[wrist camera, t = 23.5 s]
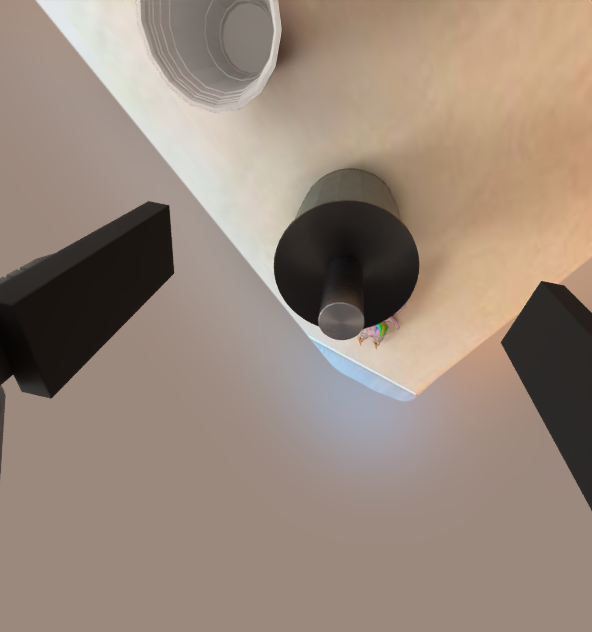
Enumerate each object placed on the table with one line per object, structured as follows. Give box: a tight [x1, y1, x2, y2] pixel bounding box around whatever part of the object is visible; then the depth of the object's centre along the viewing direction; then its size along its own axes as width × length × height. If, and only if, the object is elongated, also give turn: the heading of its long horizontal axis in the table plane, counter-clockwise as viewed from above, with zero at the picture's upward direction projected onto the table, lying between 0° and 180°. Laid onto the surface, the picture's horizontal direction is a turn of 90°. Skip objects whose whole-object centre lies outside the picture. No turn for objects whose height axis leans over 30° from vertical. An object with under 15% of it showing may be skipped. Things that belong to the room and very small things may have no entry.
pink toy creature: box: [358, 304, 406, 349], centre depth 45 cm, size 6×6×15 cm
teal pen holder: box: [295, 169, 402, 221], centre depth 36 cm, size 12×12×14 cm
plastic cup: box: [136, 0, 282, 113], centre depth 29 cm, size 11×11×12 cm
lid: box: [274, 199, 419, 340], centre depth 27 cm, size 13×13×9 cm
